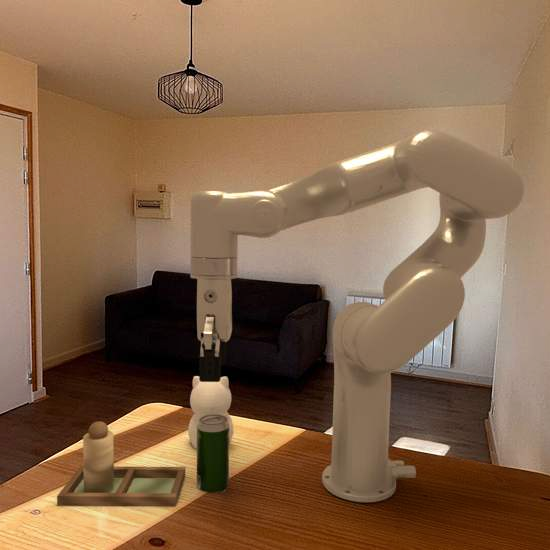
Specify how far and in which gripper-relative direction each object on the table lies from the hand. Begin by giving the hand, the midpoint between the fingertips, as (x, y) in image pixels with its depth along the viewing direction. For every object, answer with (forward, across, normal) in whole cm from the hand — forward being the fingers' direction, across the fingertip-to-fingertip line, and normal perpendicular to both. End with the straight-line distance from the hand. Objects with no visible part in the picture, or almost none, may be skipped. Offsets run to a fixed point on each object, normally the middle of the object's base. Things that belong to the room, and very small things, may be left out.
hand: (213, 372), depth 81 cm
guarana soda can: (+20, 0, 0) cm, 20 cm away
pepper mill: (+19, -2, +18) cm, 26 cm away
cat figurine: (+20, +17, +2) cm, 27 cm away
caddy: (+20, -2, +14) cm, 24 cm away
